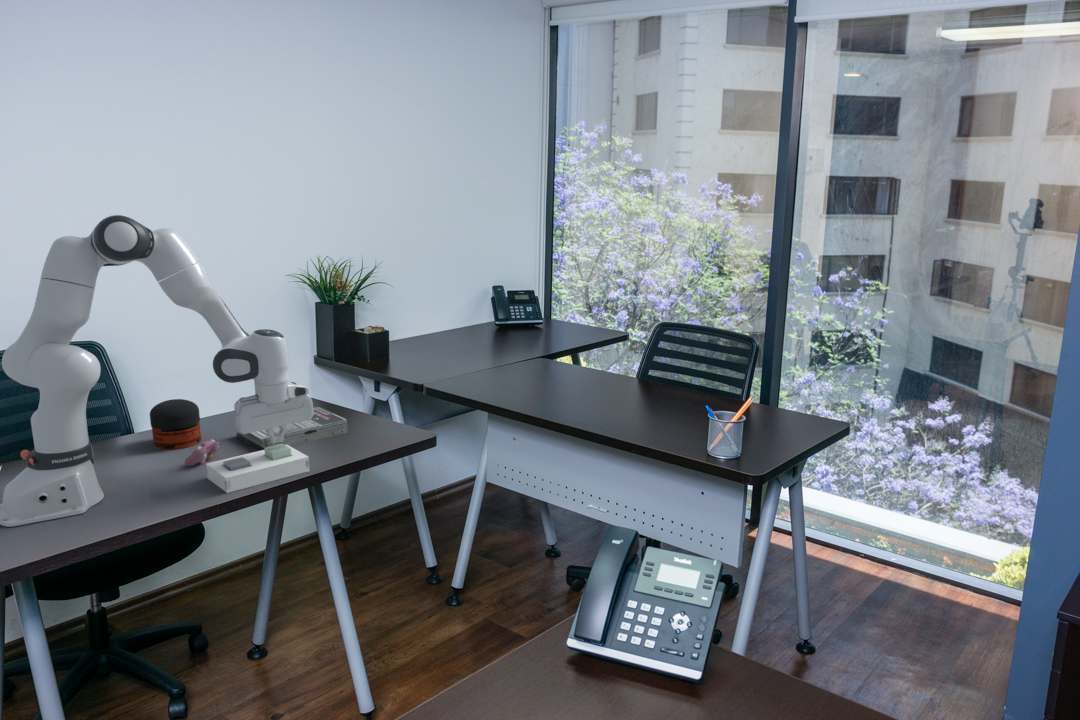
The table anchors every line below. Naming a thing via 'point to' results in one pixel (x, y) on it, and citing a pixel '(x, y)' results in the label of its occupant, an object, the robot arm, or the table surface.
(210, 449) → the video game controller
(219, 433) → the table surface
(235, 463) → the grey key
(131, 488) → the table surface
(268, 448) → the sage key
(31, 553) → the table surface
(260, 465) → the key panel
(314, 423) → the hard drive
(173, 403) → the oil filter
